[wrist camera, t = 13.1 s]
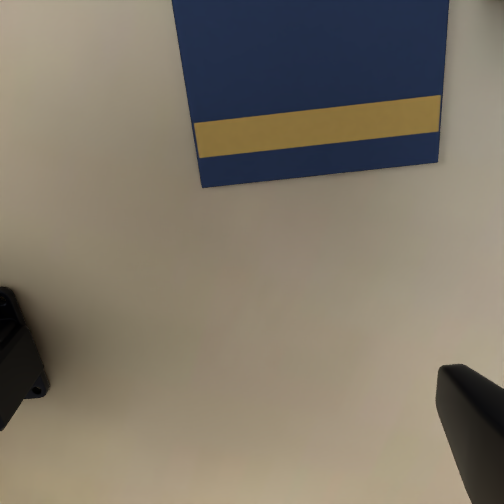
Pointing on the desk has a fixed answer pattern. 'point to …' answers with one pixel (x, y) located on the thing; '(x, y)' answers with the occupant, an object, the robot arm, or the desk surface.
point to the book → (311, 85)
